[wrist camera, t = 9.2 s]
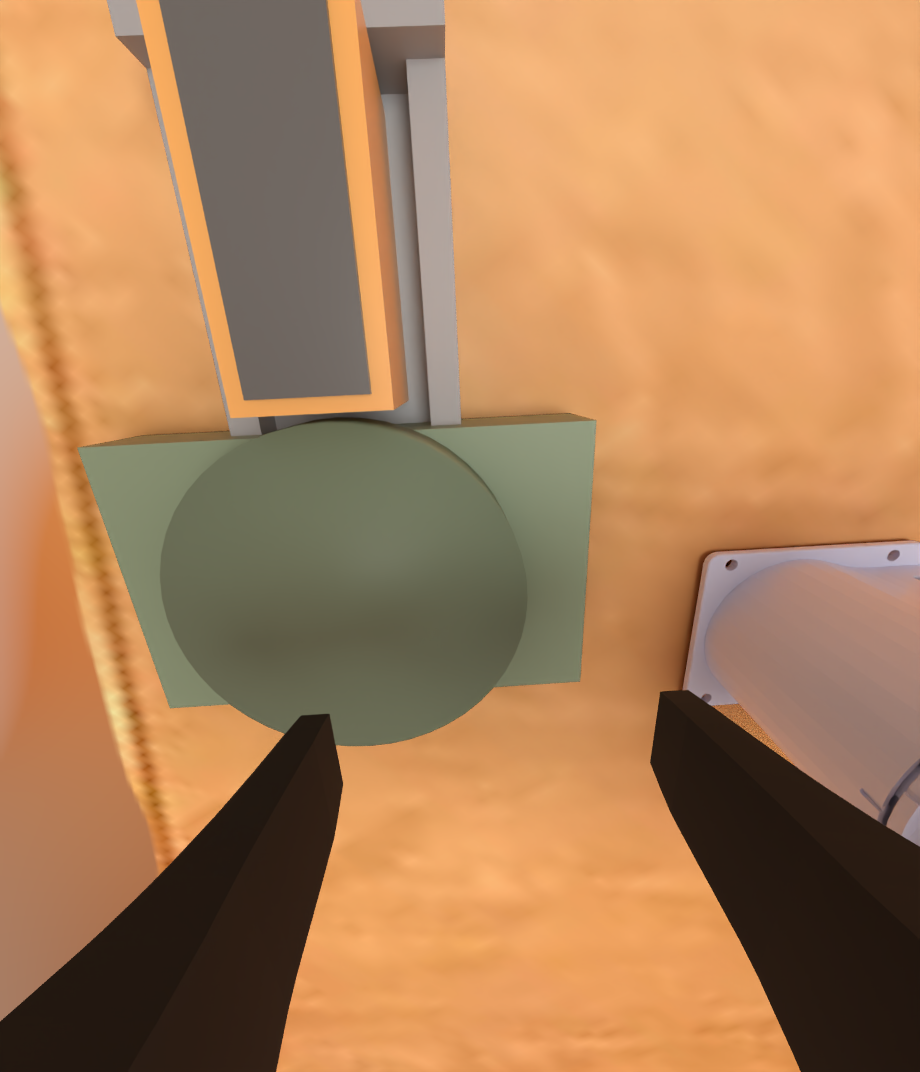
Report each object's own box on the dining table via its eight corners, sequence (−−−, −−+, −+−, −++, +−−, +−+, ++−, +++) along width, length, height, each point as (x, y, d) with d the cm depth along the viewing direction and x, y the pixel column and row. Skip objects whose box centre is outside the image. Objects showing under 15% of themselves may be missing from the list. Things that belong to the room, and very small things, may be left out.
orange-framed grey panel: (384, 112, 12) (347, -60, 8) (409, 400, 15) (393, 410, 10) (246, 117, 12) (118, -53, 7) (296, 406, 15) (226, 418, 10)
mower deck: (583, 56, 13) (668, -135, 8) (560, 647, 20) (596, 730, 15) (33, 75, 12) (-218, -112, 8) (212, 669, 19) (139, 761, 15)
